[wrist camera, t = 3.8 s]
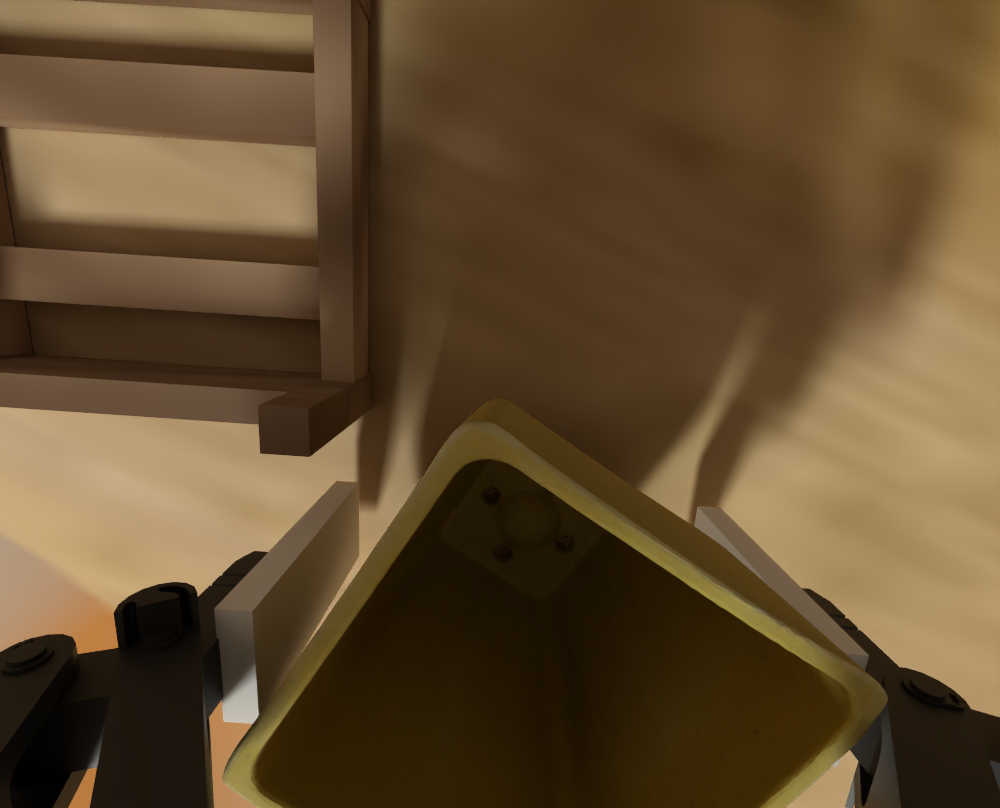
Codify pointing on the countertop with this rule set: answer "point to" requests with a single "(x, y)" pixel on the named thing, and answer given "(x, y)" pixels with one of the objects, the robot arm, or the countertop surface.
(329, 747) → the flower pot
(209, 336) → the countertop surface
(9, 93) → the rack
